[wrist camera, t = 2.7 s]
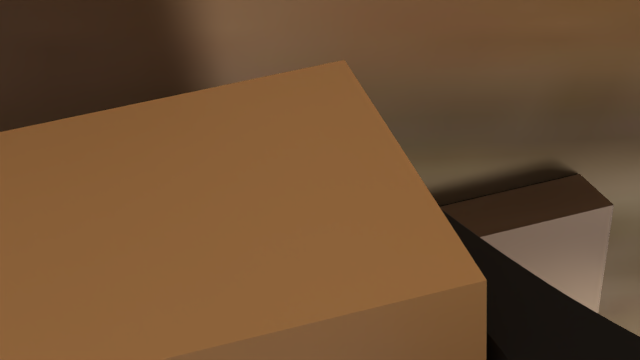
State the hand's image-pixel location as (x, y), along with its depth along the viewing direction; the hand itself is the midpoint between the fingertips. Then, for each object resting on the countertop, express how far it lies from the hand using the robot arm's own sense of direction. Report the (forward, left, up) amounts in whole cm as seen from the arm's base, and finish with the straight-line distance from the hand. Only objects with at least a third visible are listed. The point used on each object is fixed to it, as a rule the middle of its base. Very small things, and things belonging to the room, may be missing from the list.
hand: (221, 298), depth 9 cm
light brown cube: (0, 0, -2) cm, 2 cm away
